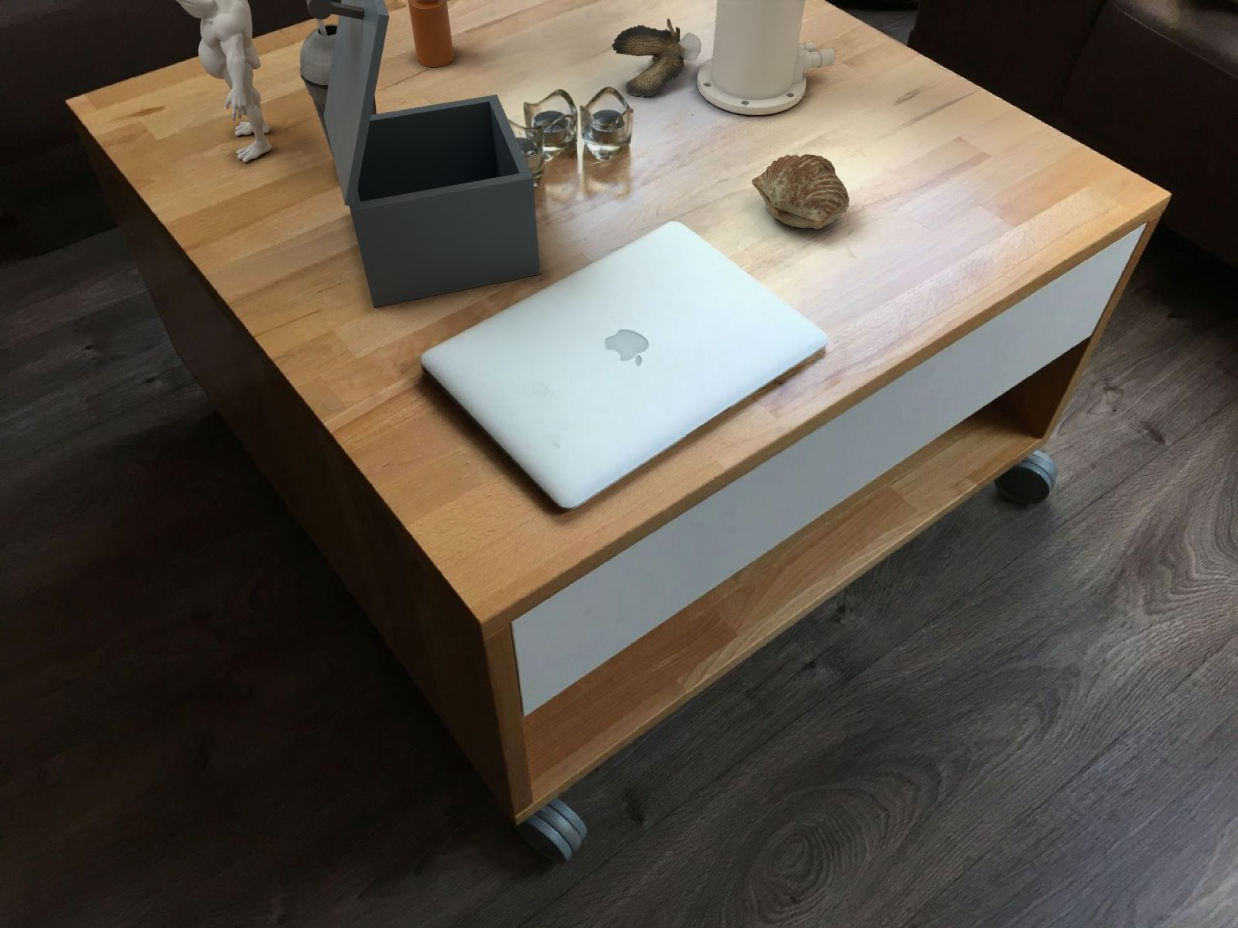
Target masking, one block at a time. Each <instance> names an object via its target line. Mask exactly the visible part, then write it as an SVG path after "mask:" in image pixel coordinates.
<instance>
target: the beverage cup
mask: <svg viewBox="0 0 1238 928" xmlns="http://www.w3.org/2000/svg"><path fill="white" fill-rule="evenodd" d="M315 19H316V18H315ZM316 22H317V26H318V27H316V28H315V29H313V30H312V31H311V32H310V33H309V34H307V36H306V37H305V38H304V41H303V43H302V45H301V48H300V50H299V51H300V52H299V65H300V67H299V75H300V78H301V80H302V81H303V82H304V86H305V87H306V90H307V92H308V94H309V96H310V97H311V99H312V102H313V104H314V107H315V110H316V113H317V116H318V119H319V121H320V124H321V127H322V130H323V133H324V136H325V139H326V142H327V144H328V148H329V150H330V153H331V156H332V159H333V160H334V157H333V153H332V149H331V145H330V140H329V136H328V132H327V128H326V123H325V119H324V111H325V104H326V98H327V91H328V85H329V78H330V72H331V65H332V59H333V52H334V45H335V39H336V32H337V26H338V23H337V24H336V23H329V24H325V23H324V21H323V20H319V19H316ZM376 103H377V101H376V95H375V96H374V101H373V107H372V112H371V115H373V114H378V112H377V104H376Z"/></svg>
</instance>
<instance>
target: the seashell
mask: <svg viewBox="0 0 1238 928" xmlns="http://www.w3.org/2000/svg"><path fill="white" fill-rule="evenodd" d="M751 184H752V185H753V187H754V188H755V189H756V190H757V192H758V193H759V194H760V196H761V197H762V199H763V201H764V203H765V206H766V208H767V211H768V213H769V214H770V216H771V217H772V218H773V219H777V220H779V221H780V222H781V223H783V224H785V225H788V226H791V227H795V228H801V229H807V228H808V229H809V228H813V229H815V230H821V229H822V228H823V227H825V226H827V225H831V224H832V223H834V222H835V221H837V220H839V219H841V217H842V216H843V215H844V214H845V213H846V212H847V210H848V208H849V206H850V204H849V202H850V197H849V192H848V189H847V188H846V186H845V184H844V182H843V181H842V180H841V179H840V177H839V176H838V175H837V174H836V168H835V167H834V164H833V163H832V161H830V160H829V159H828V158H825V157H824V156H822V155H815V154H810V153H805V154H802V155H800V156H799V155H798V154H792V155H791V154H786V155H784V156H781V157H778V159H777V160H773V161H772V163H771V164H770V165H768V166H767V167H766V169H765V171H764V172H762V173H761V174H760V175H759V176H756V177H754V178H753V179H752V180H751Z"/></svg>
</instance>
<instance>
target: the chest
mask: <svg viewBox="0 0 1238 928" xmlns="http://www.w3.org/2000/svg"><path fill="white" fill-rule="evenodd" d="M510 123H511V122H510V121H509V119H508V117H507V114H506V112H505V110H504V108H503V105H502V103H501V100H500V98H499V96H498V94H489V95H484V96H477V97H472V98H466V99H465V98H464V99H459V100H453V101H448V102H441V103H436V104H435V103H434V104H429V105H423V106H416V107H410V108H405V109H399V110H392V111H387V112H380V113H379V112H378V113H377V114H373V115H371V117H370V123H369V128H368V134H367V139H366V144H365V150H364V155H363V160H362V166H361V171H360V176H359V182H358V187H357V193H356V198H355V203H354V206H348V207H349V211H350V214H351V219H352V224H353V227H354V231H355V235H356V240H357V244H358V248H359V252H360V256H361V261H362V264H363V269H364V273H365V277H366V281H367V286H368V290H369V293H370V298H371V302H372V306H373V307H372V308H378V307H383V306H389V305H394V304H398V303H404V302H408V301H413V300H419V299H424V298H429V297H434V296H438V295H443V294H447V293H453V292H459V291H463V290H469V289H474V288H479V287H484V286H489V285H494V284H499V283H503V282H508V281H514V280H518V279H519V280H520V279H524V278H528V277H533V276H539V275H541V268H540V255H539V253H540V252H539V239H538V226H537V210H536V196H535V183H534V181H535V180H534V176H533V174H532V171H531V170H530V167H529V164H528V162H527V160H526V158H525V155H524V153H523V152H522V148H521V146H520V144H519V142H518V139H517V137H516V135H515V133H514V130H513V128H512V126H511V124H510Z"/></svg>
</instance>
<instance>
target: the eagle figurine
mask: <svg viewBox="0 0 1238 928" xmlns="http://www.w3.org/2000/svg"><path fill="white" fill-rule="evenodd" d="M672 24H673V23H672V21H671V19H670V18H669V17H668V18H667V19H666V27H667V28H668V29H667V28H665V29H662V30H661V29H657V28H656V27H654V28H651V27H649V26H646V25H644V24H641V25H640V24H637V25H633V26H631V27H629V28H626V29H625V30H621V31H620V33H619V34H617V36H616V37H615V38H614V40H613V43H612V44H611V45H610V47H612V51H614V52H615V54H617V55H626V56H635V57H645V56H646V57H647V56H649V57H650V56H651V58H650V59H648V61H647V62H646V63H645V68H644V70H643V71H641V72H640V73H639V74H637V75H636V76H634V77H633V78H631V79H629V80H627V81H626V82H625V93H627V94H628V95H629V96H634V97H640V96H641V97H643V98H644V97H645V96H646V97H650V96H653V95H655V94H658V93H659V92H661V91H662V88H664V87H666V86H667V84H669V83H670V82H672V80H675V79H677V78H678V77H679V76H680V74H681V72H682V69H685V66H686V64H685V61H687V62H689V63H693V62H695V61H696V60H697V59H698V58H699V56H700V53H701V51H702V42H701V39H700V38H699V37H698V36H697V35H696V34H695V33H692V32H686V33H685V34H684V35H683V36H682V38H681V28H680V27H678V26H675V29H674V27H673V25H672Z"/></svg>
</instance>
